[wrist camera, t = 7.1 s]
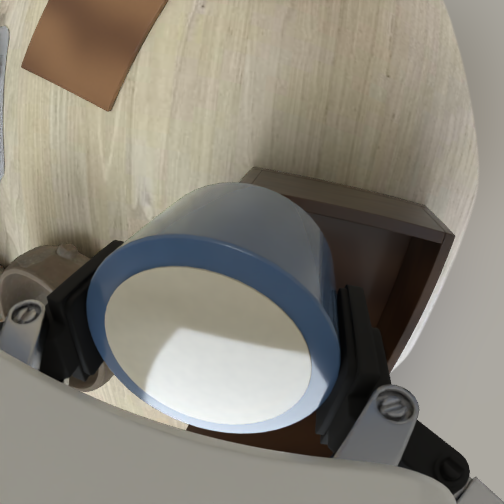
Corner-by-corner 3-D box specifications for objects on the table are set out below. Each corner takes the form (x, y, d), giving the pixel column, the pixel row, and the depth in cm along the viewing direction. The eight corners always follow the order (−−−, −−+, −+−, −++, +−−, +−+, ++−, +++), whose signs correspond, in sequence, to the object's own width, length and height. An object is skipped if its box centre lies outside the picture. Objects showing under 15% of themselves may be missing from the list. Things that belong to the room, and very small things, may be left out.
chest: (253, 166, 26) (235, 185, 20) (426, 205, 25) (455, 235, 19) (232, 321, 34) (215, 365, 28) (370, 347, 32) (377, 393, 26)
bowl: (68, 200, 31) (6, 235, 22) (173, 311, 35) (135, 372, 26) (29, 277, 38) (-14, 313, 29) (109, 360, 42) (77, 407, 33)
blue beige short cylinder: (196, 143, 10) (119, 172, 6) (373, 254, 10) (402, 343, 6) (131, 290, 13) (73, 359, 9) (268, 369, 14) (250, 455, 10)
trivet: (81, -50, 17) (78, -52, 17) (190, -32, 19) (187, -34, 18) (24, 67, 24) (20, 67, 24) (110, 111, 26) (107, 111, 25)
